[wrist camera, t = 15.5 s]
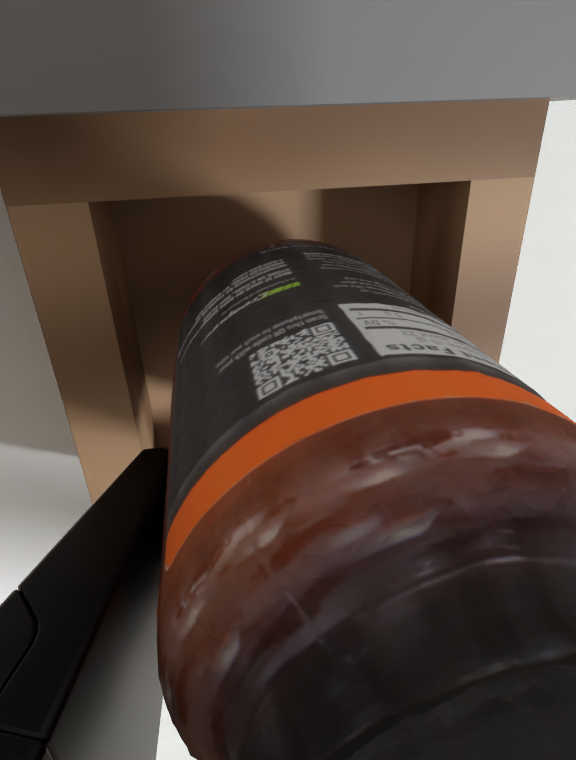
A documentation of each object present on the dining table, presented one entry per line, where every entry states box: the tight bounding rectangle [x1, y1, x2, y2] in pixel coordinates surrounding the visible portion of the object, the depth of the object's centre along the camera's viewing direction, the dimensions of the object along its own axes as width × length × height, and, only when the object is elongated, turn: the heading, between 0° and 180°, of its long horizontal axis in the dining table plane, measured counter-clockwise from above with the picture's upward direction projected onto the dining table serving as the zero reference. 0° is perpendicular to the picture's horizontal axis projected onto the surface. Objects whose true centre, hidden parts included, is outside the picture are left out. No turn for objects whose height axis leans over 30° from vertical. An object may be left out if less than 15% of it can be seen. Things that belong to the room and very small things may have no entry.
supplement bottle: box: [157, 239, 576, 760], centre depth 8 cm, size 6×6×11 cm
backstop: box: [0, 0, 576, 117], centre depth 15 cm, size 21×16×6 cm
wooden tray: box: [0, 99, 550, 504], centre depth 13 cm, size 11×11×4 cm
